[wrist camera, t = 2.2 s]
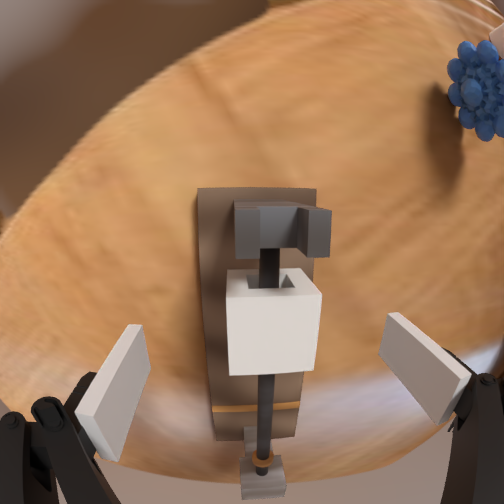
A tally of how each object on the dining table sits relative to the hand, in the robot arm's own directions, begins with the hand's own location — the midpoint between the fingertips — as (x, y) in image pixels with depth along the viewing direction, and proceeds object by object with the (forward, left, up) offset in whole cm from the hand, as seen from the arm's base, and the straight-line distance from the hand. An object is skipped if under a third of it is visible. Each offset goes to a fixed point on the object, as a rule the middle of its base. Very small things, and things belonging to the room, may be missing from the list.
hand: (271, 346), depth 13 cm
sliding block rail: (-5, +5, -13) cm, 14 cm away
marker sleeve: (0, 0, -6) cm, 6 cm away
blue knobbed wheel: (-5, -31, -13) cm, 34 cm away
